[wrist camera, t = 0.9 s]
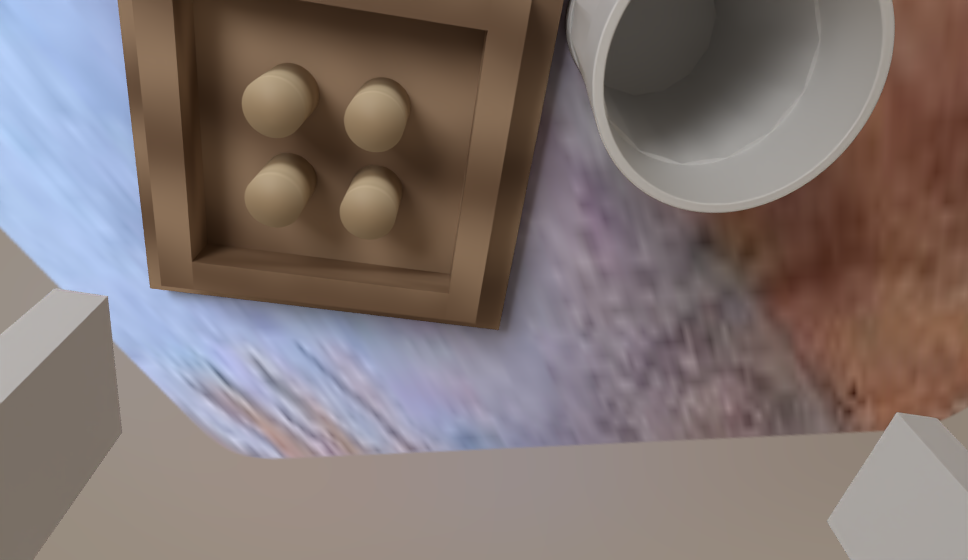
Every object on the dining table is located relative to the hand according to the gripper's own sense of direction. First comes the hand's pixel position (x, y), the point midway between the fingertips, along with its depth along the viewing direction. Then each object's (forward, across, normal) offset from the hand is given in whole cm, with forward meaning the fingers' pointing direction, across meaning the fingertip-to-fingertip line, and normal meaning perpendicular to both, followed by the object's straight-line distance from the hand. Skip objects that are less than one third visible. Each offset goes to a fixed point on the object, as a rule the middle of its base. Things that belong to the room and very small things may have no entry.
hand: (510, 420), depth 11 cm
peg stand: (+21, -6, -2) cm, 22 cm away
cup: (+21, +6, +5) cm, 23 cm away
